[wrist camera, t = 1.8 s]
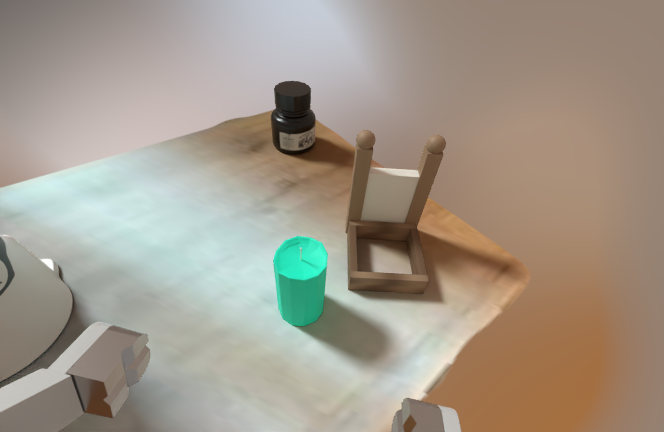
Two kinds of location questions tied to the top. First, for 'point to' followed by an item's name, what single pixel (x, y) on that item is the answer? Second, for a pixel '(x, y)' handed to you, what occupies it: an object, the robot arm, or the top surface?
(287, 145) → the ink bottle
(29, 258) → the robot arm
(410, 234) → the shallow open wooden box
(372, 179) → the headboard
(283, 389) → the top surface
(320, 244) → the candle
